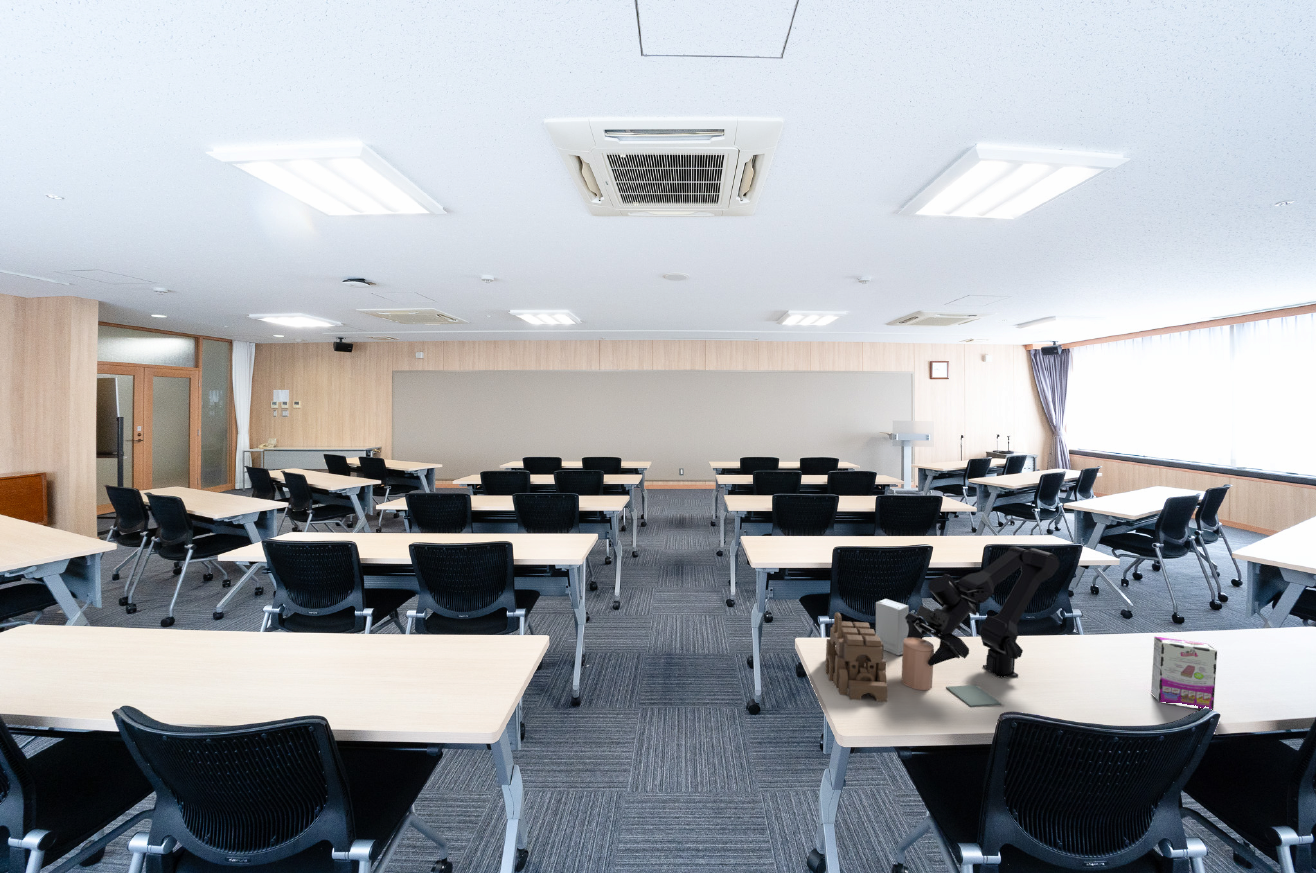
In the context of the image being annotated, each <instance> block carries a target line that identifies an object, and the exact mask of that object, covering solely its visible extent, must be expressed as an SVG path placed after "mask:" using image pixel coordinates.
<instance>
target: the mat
mask: <svg viewBox="0 0 1316 873" xmlns="http://www.w3.org/2000/svg"><path fill="white" fill-rule="evenodd" d="M945 688H946V689H947V690H948V691H949V692H951V693H952V694H953V695H954V696H955V697H957V698H958V699H960V700H961V701H963V703H965V704H966V705H967V706H968V707H970V708H972V707H974V708H975V707H988V706H1001V705H1002V702H1001V701H999V700H998V699H996V698H995V697H993V696H992V695H991V694H989V693H988V692H987V691H985V690H984V689H982V688H981V687H979V686H978V685H976V684H969V685H968V684H967V685H955V686H954V685H951V686H949V685H948V686H945Z"/></svg>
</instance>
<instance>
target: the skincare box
mask: <svg viewBox="0 0 1316 873" xmlns="http://www.w3.org/2000/svg"><path fill="white" fill-rule="evenodd" d="M909 610H910V609H909V604H907V605H906V604H905V603H901V602H897V601H894V600H891V599H888V598H884V599H882V600H878V601H876V602H875V634H876V636H879V637H880V640H881V642H882V643H883V644H884V647H883V651H886V652H888V653H891V654H893V655H896V656H900V655H903V642H904V639H905V638H907V635H908V631H909V627H908V624H907V623H906V621H907V620H906V619H905V617H906V616H907V615H908V613H910V612H909Z"/></svg>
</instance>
